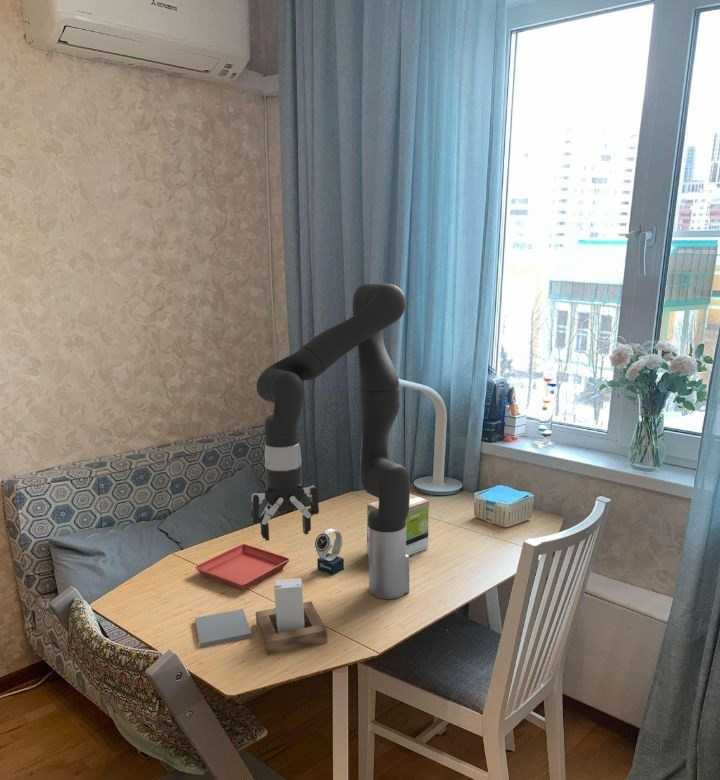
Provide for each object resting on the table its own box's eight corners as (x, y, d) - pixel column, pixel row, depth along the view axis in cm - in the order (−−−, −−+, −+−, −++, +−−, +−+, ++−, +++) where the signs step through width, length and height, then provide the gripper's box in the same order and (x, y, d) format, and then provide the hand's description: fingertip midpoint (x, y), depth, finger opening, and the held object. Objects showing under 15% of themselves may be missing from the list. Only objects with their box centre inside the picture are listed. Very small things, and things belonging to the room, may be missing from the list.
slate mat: (243, 612, 157) (242, 608, 157) (251, 637, 147) (251, 633, 146) (195, 621, 153) (194, 617, 153) (200, 647, 143) (199, 643, 143)
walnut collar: (311, 613, 156) (311, 601, 155) (327, 642, 144) (326, 629, 143) (256, 623, 152) (255, 611, 151) (267, 655, 140) (267, 642, 139)
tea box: (391, 565, 179) (390, 513, 176) (366, 553, 187) (365, 503, 184) (429, 548, 189) (429, 499, 186) (404, 538, 196) (404, 490, 193)
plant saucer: (243, 553, 189) (243, 542, 189) (291, 569, 179) (291, 557, 178) (194, 578, 175) (193, 566, 174) (243, 597, 165) (242, 585, 164)
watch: (312, 572, 176) (311, 533, 174) (332, 561, 182) (331, 523, 180) (328, 578, 173) (327, 538, 170) (348, 567, 179) (347, 528, 176)
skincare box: (304, 626, 150) (302, 576, 148) (305, 637, 146) (302, 586, 144) (277, 628, 150) (274, 578, 147) (276, 639, 145) (274, 588, 143)
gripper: (311, 455, 146) (313, 525, 149) (246, 462, 141) (250, 534, 145) (320, 464, 139) (322, 538, 142) (252, 473, 135) (256, 548, 138)
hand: (286, 536), depth 143 cm, fingers open, 8 cm apart
